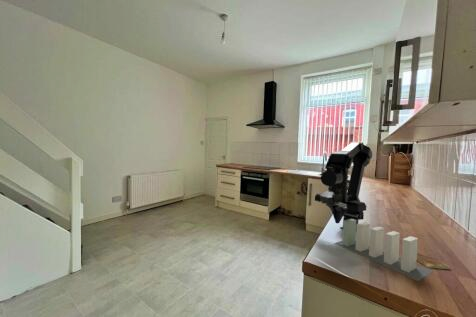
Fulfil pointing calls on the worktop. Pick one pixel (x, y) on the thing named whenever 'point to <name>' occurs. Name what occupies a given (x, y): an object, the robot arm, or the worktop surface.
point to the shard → (431, 262)
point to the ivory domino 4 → (409, 253)
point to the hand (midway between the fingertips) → (337, 223)
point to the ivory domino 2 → (376, 241)
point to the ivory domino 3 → (391, 247)
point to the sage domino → (349, 232)
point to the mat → (414, 274)
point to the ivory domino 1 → (362, 236)
